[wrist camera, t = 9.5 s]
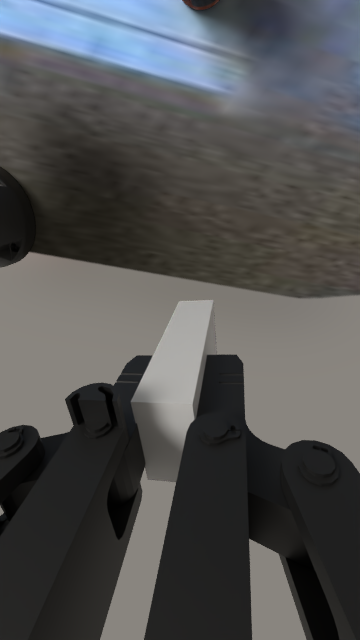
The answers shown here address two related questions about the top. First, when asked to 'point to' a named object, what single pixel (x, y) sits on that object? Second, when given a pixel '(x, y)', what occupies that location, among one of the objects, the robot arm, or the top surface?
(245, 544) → the robot arm
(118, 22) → the top surface
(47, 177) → the top surface
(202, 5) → the supplement bottle
